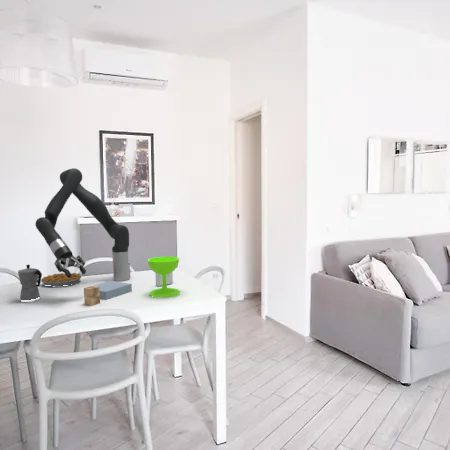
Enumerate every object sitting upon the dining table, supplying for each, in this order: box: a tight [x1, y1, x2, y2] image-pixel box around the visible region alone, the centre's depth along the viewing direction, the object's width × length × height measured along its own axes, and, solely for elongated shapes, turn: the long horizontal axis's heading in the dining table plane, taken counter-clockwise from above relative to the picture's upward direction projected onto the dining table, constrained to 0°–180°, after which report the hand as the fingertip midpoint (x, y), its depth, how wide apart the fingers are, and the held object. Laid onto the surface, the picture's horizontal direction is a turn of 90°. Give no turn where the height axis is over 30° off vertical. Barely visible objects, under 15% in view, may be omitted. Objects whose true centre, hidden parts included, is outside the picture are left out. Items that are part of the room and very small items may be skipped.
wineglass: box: [147, 256, 181, 298], centre depth 203 cm, size 16×16×18 cm
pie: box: [40, 272, 82, 286], centre depth 231 cm, size 22×22×5 cm
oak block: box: [83, 285, 101, 307], centre depth 187 cm, size 5×5×8 cm
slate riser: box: [93, 280, 133, 300], centre depth 206 cm, size 18×16×4 cm
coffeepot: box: [17, 264, 43, 300], centre depth 195 cm, size 15×9×18 cm, turn 66°
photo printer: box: [154, 272, 174, 287], centre depth 222 cm, size 10×4×12 cm, turn 134°
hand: (77, 274), depth 191 cm, fingers open, 8 cm apart
